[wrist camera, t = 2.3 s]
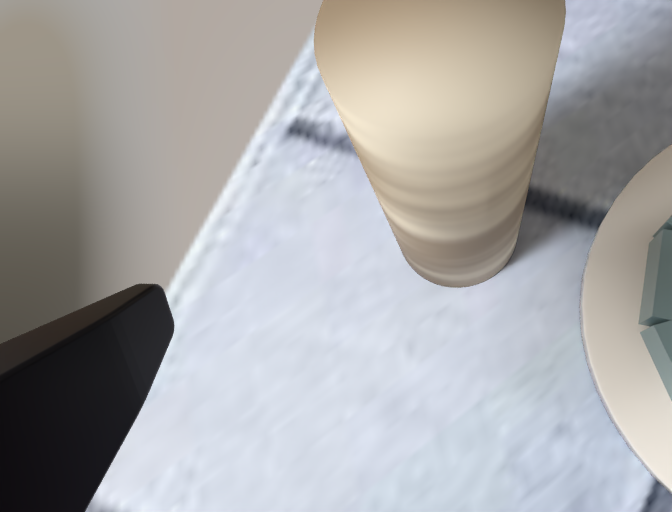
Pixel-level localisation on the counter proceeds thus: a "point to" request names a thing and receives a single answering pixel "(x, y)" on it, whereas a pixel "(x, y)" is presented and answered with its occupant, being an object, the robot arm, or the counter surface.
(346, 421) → the counter surface
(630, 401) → the ring dish
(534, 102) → the birch cylinder
